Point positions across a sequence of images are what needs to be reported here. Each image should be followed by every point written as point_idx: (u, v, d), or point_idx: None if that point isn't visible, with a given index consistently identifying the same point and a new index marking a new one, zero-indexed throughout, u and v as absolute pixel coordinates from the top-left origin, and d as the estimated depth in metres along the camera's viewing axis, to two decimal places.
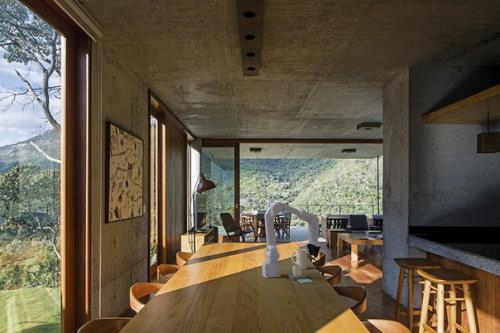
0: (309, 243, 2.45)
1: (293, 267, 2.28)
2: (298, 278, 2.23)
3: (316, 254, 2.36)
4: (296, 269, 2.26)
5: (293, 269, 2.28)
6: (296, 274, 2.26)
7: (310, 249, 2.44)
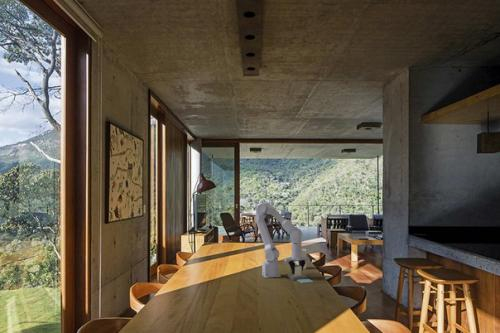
0: (301, 260, 2.30)
1: None
2: (298, 278, 2.23)
3: (292, 270, 2.27)
4: (296, 269, 2.26)
5: None
6: (296, 274, 2.26)
7: None
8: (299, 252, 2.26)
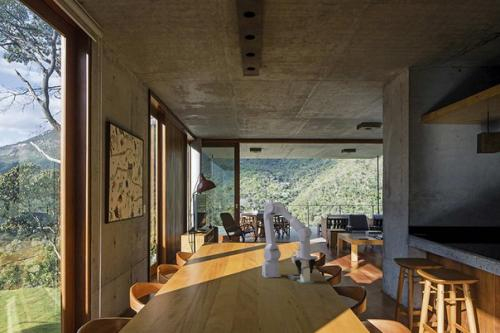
0: None
1: (301, 269, 2.19)
2: (298, 278, 2.23)
3: (299, 270, 2.18)
4: (304, 271, 2.17)
5: (301, 271, 2.19)
6: (304, 276, 2.17)
7: (309, 265, 2.21)
8: (307, 251, 2.17)
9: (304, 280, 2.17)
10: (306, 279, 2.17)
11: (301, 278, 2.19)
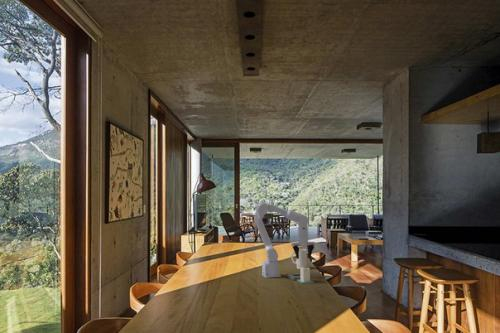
0: None
1: (301, 269, 2.19)
2: (298, 278, 2.23)
3: (296, 255, 2.32)
4: (304, 271, 2.17)
5: (301, 271, 2.19)
6: (304, 276, 2.17)
7: (308, 251, 2.36)
8: (305, 237, 2.32)
9: (304, 280, 2.17)
10: (306, 279, 2.17)
11: (301, 278, 2.19)
